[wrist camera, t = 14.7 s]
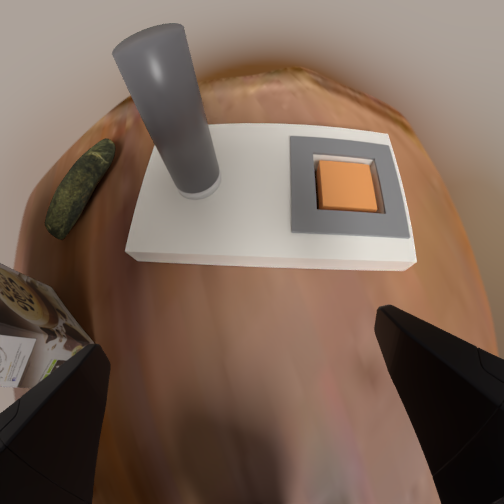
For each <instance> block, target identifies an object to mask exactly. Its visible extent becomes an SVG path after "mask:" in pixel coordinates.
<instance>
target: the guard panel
mask: <svg viewBox="0 0 504 504" xmlns="http://www.w3.org/2000/svg"><path fill="white" fill-rule="evenodd" d="M208 127H209V130H210V134H211V138H212V142H213V146H214V150H215V154H216V158H217V161H218V165H219V169H220V173H221V183H220V185H219V187H218V189H217V190H216V191H215V192H214V193H213V194H211V195H210V196H208V197H206V198H203V199H199V200H191V199H187V198H185V197H183V196H182V195H181V194H180V193H179V191H178V189H177V187H176V185H175V184H174V182H173V180H172V178H171V176H170V174H169V172H168V170H167V168H166V166H165V164H164V162H163V160H162V158H161V156H160V154H159V152H158V150H157V148H156V146H154V149H153V152H152V155H151V158H150V161H149V164H148V167H147V170H146V173H145V176H144V180H143V183H142V186H141V190H140V193H139V197H138V200H137V204H136V207H135V211H134V215H133V219H132V223H131V227H130V231H129V235H128V240H127V244H126V249H125V252H126V253H128V254H129V255H130V256H131V257H133V258H134V259H135V260H137V261H145V262H163V263H183V264H204V265H226V266H250V267H276V268H305V269H339V270H380V271H405V270H406V269H408V268H409V267H410V266H412V265H413V264H415V263H416V262H417V260H416V253H415V246H414V239H413V233H412V228H411V222H410V217H409V212H408V207H407V202H406V198H405V193H404V189H403V185H402V181H401V177H400V173H399V170H398V166H397V162H396V159H395V155H394V152H393V149H392V146H391V142H390V139H389V136H388V134H383V133H377V132H370V131H363V130H355V129H347V128H337V127H327V126H314V125H298V124H271V123H238V124H210V125H208ZM319 160H323V161H336V162H347V163H357V164H367V165H369V167H370V172H371V177H372V182H373V187H374V193H375V198H376V204H377V211H376V212H375V213H367V212H353V211H337V210H319V209H317V203H316V187H315V173H314V171H317V168H318V164H319Z"/></svg>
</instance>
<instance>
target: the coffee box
mask: <svg viewBox="0 0 504 504" xmlns="http://www.w3.org/2000/svg"><path fill="white" fill-rule="evenodd" d="M88 344H94V342H93V341H92V340H91V338H90V337H89V336H88V335H87V334H86V332H85V331H84V330H83V329H82V328H81V326H80V325H79V324H78V323H77V321H76V320H75V319H74V318H73V316H72V315H71V314H70V312H69V311H68V310H67V308H66V307H65V306H64V304H63V303H62V301H61V300H60V299H59V297H58V296H57V294H56V293H55V292H54V290H53V289H52V287H50V286H48V285H46V284H43V283H41V282H39V281H37V280H35V279H32V278H30V277H28V276H26V275H24V274H22V273H20V272H17V271H15V270H13V269H11V268H9V267H7V266H5V265H3V264H1V263H0V387H19V388H33V387H34V386H35V385H36V384H38V383H39V382H40V381H41V380H43V379H44V378H45V377H46V376H48V375H49V374H50V373H52V372H53V371H54V370H55V369H57V368H58V367H59V366H60V365H62V364H63V363H64V362H66V361H67V360H68V359H69V358H71V357H72V356H73V355H75V354H76V353H77V352H78V351H80V350H81V349H82V348H84V347H85V346H86V345H88Z"/></svg>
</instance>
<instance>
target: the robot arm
mask: <svg viewBox="0 0 504 504" xmlns="http://www.w3.org/2000/svg"><path fill="white" fill-rule="evenodd" d="M374 330H375V335H376V338H377V340H378V343H379V346H380V349H381V352H382V354H383V357H384V360H385V363H386V366H387V369H388V372H389V374H390V376H391V379H392V381H393V383H394V385H395V387H396V389H397V391H398V394H399V396H400V398H401V400H402V403H403V405H404V407H405V409H406V412H407V414H408V416H409V418H410V421H411V423H412V426H413V428H414V430H415V433H416V435H417V438H418V440H419V443H420V445H421V448H422V450H423V453H424V455H425V458H426V461H427V463H428V466H429V469H430V471H431V474H432V476H433V480H434V483H435V486H436V489H437V492H438V495H439V498H440V501H441V504H504V359H501V358H499V357H497V356H495V355H493V354H491V353H488V352H486V351H484V350H482V349H480V348H477V347H476V346H474V345H472V344H470V343H468V342H466V341H464V340H462V339H460V338H458V337H456V336H454V335H452V334H450V333H448V332H446V331H444V330H442V329H440V328H438V327H436V326H434V325H432V324H430V323H428V322H426V321H424V320H421V319H419V318H417V317H415V316H413V315H411V314H409V313H407V312H405V311H403V310H401V309H399V308H397V307H395V306H393V305H385V306H381V307H379V308H378V309H377V314H376V320H375V327H374ZM109 375H110V361H109V359H108V358H107V356H106V354H105V353H104V351H103V349H102V347H101V346H100V345H99V344H88V345H86V346H85V347H84V348H82V349H81V350H80V351H78V352H77V353H76V354H75V355H73V356H72V357H71V358H69V359H68V360H67V361H66V362H64V363H63V364H62V365H60V366H59V367H58V368H57V369H55V370H54V371H53V372H52V373H50V374H49V375H48V376H46V377H45V378H44V379H43V380H41V381H40V382H39V383H38V384H36V385H35V386H34V387H33V388H32V389H30V390H29V391H28V392H27V393H25V394H24V395H23V396H22V397H21V398H19V399H18V400H17V401H15V402H14V403H13V404H12V405H11V406H9V407H8V408H7V409H6V410H4V411H3V412H1V413H0V504H92V497H93V485H94V476H95V467H96V460H97V453H98V446H99V440H100V434H101V428H102V423H103V417H104V412H105V407H106V400H107V391H108V383H109Z"/></svg>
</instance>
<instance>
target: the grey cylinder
mask: <svg viewBox="0 0 504 504" xmlns="http://www.w3.org/2000/svg"><path fill="white" fill-rule="evenodd" d="M112 55H113V57H114V59H115V61H116V64H117V66H118V68H119V70H120V72H121V75H122V77H123V79H124V81H125V83H126V86H127V88H128V90H129V92H130V94H131V96H132V99H133V101H134V103H135V105H136V107H137V109H138V111H139V113H140V115H141V118H142V120H143V122H144V124H145V126H146V128H147V130H148V132H149V134H150V136H151V138H152V140H153V142H154V144H155V146H156V148H157V150H158V152H159V154H160V156H161V158H162V160H163V162H164V164H165V166H166V168H167V170H168V172H169V174H170V176H171V178H172V180H173V182H174V184H175V185H176V187H177V189H178V191H179V193H180V194H181V195H182V196H183V197H185V198H187V199H191V200H199V199H203V198H206V197H208V196H210V195H211V194H213V193H214V192H215V191H216V190H217V189H218V187H219V185H220V183H221V173H220V169H219V165H218V161H217V158H216V154H215V150H214V146H213V142H212V138H211V134H210V130H209V127H208V123H207V119H206V115H205V111H204V107H203V103H202V99H201V95H200V91H199V87H198V83H197V80H196V75H195V71H194V67H193V63H192V59H191V55H190V51H189V47H188V43H187V39H186V35H185V30H184V27H183V26H182V25H181V24H176V23H169V24H162V25H157V26H153V27H150V28H147V29H144V30H142V31H140V32H137V33H135V34H133V35H131V36H130V37H128V38H126V39H125V40H123V41H122V42H121V43H120V44H118V45H117V46H116V47H115V49H114V50H113V52H112Z"/></svg>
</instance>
